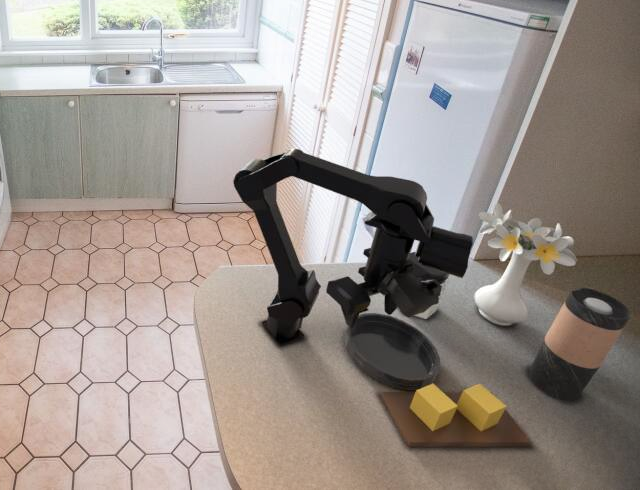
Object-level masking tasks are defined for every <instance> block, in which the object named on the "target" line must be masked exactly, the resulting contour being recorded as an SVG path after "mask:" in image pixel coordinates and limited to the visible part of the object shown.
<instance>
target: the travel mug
mask: <svg viewBox="0 0 640 490" xmlns="http://www.w3.org/2000/svg"><path fill="white" fill-rule="evenodd" d="M630 318H631V311H630V309H629V308H628V307H627V306H626V305H625V304H624V303H623V302H621V301H620V300H619V299H616V298H615V297H613V296H612V295H609V294H607V293H605V292H602V291H599V290H596V289H592V288H588V287H580V288H579V289H576V290H575V289H574V290H572V289H571V290H569V294H568V295H567V297H566V299H565V300H564V302H563V304H562V306H561V308H560V309H559V311H558V313H557V315H556V317H555V318H554V321H553V322H552V324H551V326H550V328H549V329H548V331H547V333H546V335H545V337H544V338H543V341H542V343H541V344H540V347H539V349H538V351H537V353H536V356H535V358H534V360H533V362H532V364H531V366H530V368H529V371H528V373H529V378H530V379H531V381H532V382H533V384H535V386H536V387H538V388H539V389H540V390H542V391H543V392H544V393H546V394H548V395H550V396H552V397H554V398H557V399H559V400H563V401H574V400H577V399H578V398H579V396H580V395H581V394H582V392H583V391H584V390H585V389H586V387H587V386H588V384H589V383H590V381H591V380H592V378H593V377H594V375H595V374H596V373H597V371H598V370H599V369H600V367H601V366H602V365H603V363H604V361H605V359H606V358H607V356H608V354H609V352H610V351H611V349H612V347H614V344H615V343H616V341H617V340H618V338H619V336H620V334H621V333H622V331H623V330H624V328H625V327H626V325H627V323H628V321H629V320H630Z"/></svg>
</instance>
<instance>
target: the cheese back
mask: <svg viewBox="0 0 640 490" xmlns="http://www.w3.org/2000/svg"><path fill="white" fill-rule="evenodd" d="M415 392H416V393H415V395H414V398H413V400H412V403H411V405H410V409H411V410H412V411H413V412H414V413H415V414H416V415H417V416H418V417H419V418H420V419H421V420H422V421H423V422H424V423H425V424H426V425H427V426H428V427H429V428H430V429H431V430H432V431H435V430H437V429H439V428H441V427H443V426H445V425H447V424H450V422H451V420H452V418H453V415H454V413H455V411H456V409H457V407H458V406H457V405H456V404H455V403H454V402H453V401H452V400H451V399H450V398H449V397H447V396H446V395H445V394H444V393H443V392H444V391H442V390H441V389H440V388H439V387H438V386H437V385H436V384H435V383H432V384H431V385H428V386H426V387H424V388H421V389H419V390H415Z"/></svg>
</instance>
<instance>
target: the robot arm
mask: <svg viewBox="0 0 640 490" xmlns="http://www.w3.org/2000/svg"><path fill="white" fill-rule="evenodd" d="M291 177H293V178H296V179H298V180H301V181H304V182H307V183H309V184H312V185H315V186H316V187H319V188H322V189H324V190H328V191H331V192H333V193H335V194H339V195H341V196H343V197H346V198H349V199H351V200H354V201H356V202H358V203H360V204H362V205H364V206H365V207H366V208H367V209H368V210H369V212H368V213H367V215H366V218H365V220H364V224H365V225H366V226H370V227H372V228H375V230H374V231H375V232H374V235H373V238H372V242H371V246H370V247H368V248H365V249H363V254H362V255H364V256H365V257H366V258H367V260H366V263H365V265H364V266H361V267H358V270H357V273H358V274H359V275H360V276H362V277H363V280H364V281H363V282H360V283H357V282H356V281H354V280H353V279H352V278H351V277H350V276H349V275H347V276H342V277H339V278H335V279H332V280H329V281H327V286H326V288H325V289H326V291H325V292H326V294H328V296H329V297H331V298H332V299H333V300H334V301H335V302H336V303H337V304H338V305H339V306H340V310H341V311H342V315H343V318H344V321H345V324H346V325H347V327H348V326H349V327H350V328H353V326H354V325H355V323H356V320H357V318H358V316H359V315H361V314H363V313H366V312H368V311H370V310H369V307H370V305H371V302H372V300H371V297H373V296H375V295H379V294H381V295H382V296H384V302H383V303H384V313H386V315H389V316H392V314H393V313H394V312H395V311H396V310H397V309H399V311H400V312H401V314H402V315H403V316H405V317H406V318H412V317H415V316H414V315H417V314H420V313H423V312H425V311H426V310H427V309H429V308H430V307H431V306H432V305H435V304H438V303H439V301H438V300H439V299H440V298H439V296H440V294H441V289H442V286H441V285H440V284H439V282H438V281H437V280H432V277H431V275H430V273H429V272H427V271H426V270H424V269H423V268H421V267H420V266H418V265H417V264H416V263H414V262H413V261H411V260H410V259H409V256H410V253H412V249H413V246H414V244H415V241H418V243H417V247H416V250H415V252H416V253H415V256H417V257H419V260H418V263H421V265H424V266H427V267H430V268H433V269H436V270H439V271H442V272H445V273H448V274H449V275H451V276H454V277H457V278H460V279H463V278H464V277H465V274H466V273H467V269H468V268H469V259H470V255H471V251H472V247H473V245H474V236H472V235H470V234H466V233H459V232H455V231H451V230H447V229H444V228H440V227H438V226H434V223H435V216H434V215H433V213H432V211H431V210H430V208H429V206H428V204H427V201H428V196H427V195H428V194H427V192H426V191H425V189H424V187H423V185H421V184H420V183H419V182H417V181H414V180H412V179H411V180H410V179H405V178H400V177H396V176H385V175H383V176H379V175H378V176H376V175H370V174H367V173H364V172H362V171H358V170H356V169H352V168H349V167H346V166H343V165H341V164H338V163H335V162H332V161H330V160H326V159H323V158H320V157H318V156H315V155H312V154H309V153H306V152H304V151H303V150H301V149H300V148H290V149H288V150H286V151H285V152H282V153H281V152H280V153H278V154H273V155H271V156H269V157H267V158H264V159H261V158H254V159H251V160H250V161H249V162H247V164H246V165H244V166H243V167H242V168H241V169H240V170H239V171H238V172H237V173H236V174H235V176H234V178H233V180H232V181H233V182H232V183H233V187H234V189H235V191H236V192H237V195H238V196H239V198H240V200H241V202H242V203H243V204H245V205H246V206H247V207H248V209H251V210H252V212H253V214H254V216H255V219H256V221H257V224H258V226H259V229H260V232H261V234H262V237H263V239H264V240H263V241H264V242H265V244H266V248H267V250H268V251H269V252H268V253H269V256H270V258H271V259H272V260H271V261H272V263H273V266H274V268H275V270H276V273H277V290H276V292H275V294H274V295H273V298H272V299H271V300H270V302H269V304H268V305H267V307H266V311H267V319H265V320H262V321H261V326H262V327H263V328H264V330H265V332H267V333H268V334H269V336H270V337H271V338H272V340H273V341H274V342H275V343H276V344H277V345H278V346H284V345H288V344H291V343H292V342H297V341H299V340H302V339H304V338H305V333H304V332H302V330H301V329H302V324H303V321H304V319H305V318H307V317H308V316H309V315H310V314H311V311H312V309H313V307H314V305H315V303H316V302H317V299H318V297H319V295H320V290H321V287H322V285H321V284H320V283H319V281H318V280H317V275H316V272H315V270H313V269H312V270H307V269H306V268H304V266H302V265H301V262H300V261H299V256H298V254H297V252H296V249H295V246H294V244H293V241H292V239H291V236H290V234H289V231H288V229H287V226H286V223H285V220H284V218H283V215H282V212H281V210H280V207H279V204H278V201H277V191H278V190H277V187H278V186H277V185H278V184H277V183H279V182H281V181H283V180H285V179H288V178H291ZM439 304H440V303H439Z"/></svg>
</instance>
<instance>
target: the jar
mask: <svg viewBox="0 0 640 490" xmlns="http://www.w3.org/2000/svg"><path fill="white" fill-rule="evenodd" d="M415 253H416V251H411V252H410V256H409V259H410V260H411V261H413V262H414V263H416V264H417V265H418V266H420V267H421V268H423V269H424V270H426V271H427V272H429V273H430V275H431V277H432V280H437V281H438V282H439V284H440V285H441V286H442V289H441V294H440V296H439V298H440V299H439V300H438V301H439V303H438V304H435V305H432V306H431V307H430V308H429V309H427V310H426V311H425V312H423V313H420V314H417V315H414V316H413V317H417V318H421V319H424V320H427V319H428V318H430V317H431V316H432V315H433V314H434V313H436V312H437V311H438V308H439V305H440V303H441V301H442V298H443V295H444V292H445V290H446V287H447V284H448V282H449V276H450V274H448V273H445V272H442V271H439V270H436V269H433V268H430V267H427V266H424V265H421V263H418V260H419V257H417V256H415Z"/></svg>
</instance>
